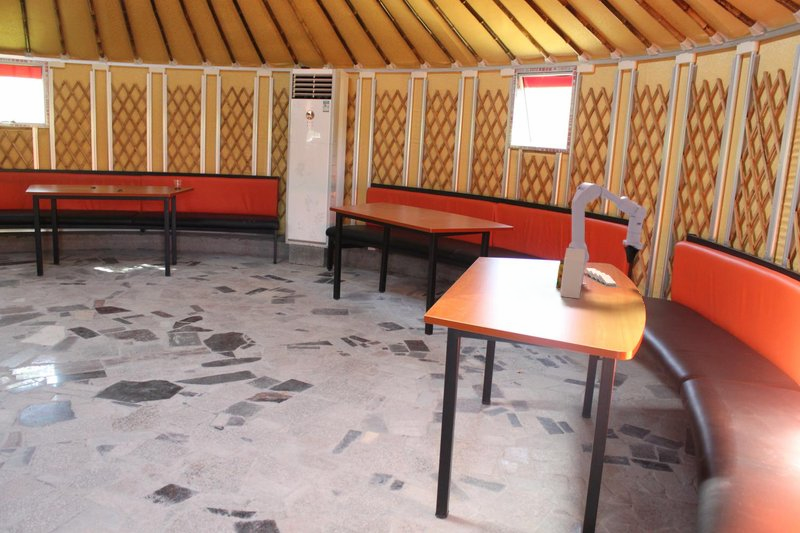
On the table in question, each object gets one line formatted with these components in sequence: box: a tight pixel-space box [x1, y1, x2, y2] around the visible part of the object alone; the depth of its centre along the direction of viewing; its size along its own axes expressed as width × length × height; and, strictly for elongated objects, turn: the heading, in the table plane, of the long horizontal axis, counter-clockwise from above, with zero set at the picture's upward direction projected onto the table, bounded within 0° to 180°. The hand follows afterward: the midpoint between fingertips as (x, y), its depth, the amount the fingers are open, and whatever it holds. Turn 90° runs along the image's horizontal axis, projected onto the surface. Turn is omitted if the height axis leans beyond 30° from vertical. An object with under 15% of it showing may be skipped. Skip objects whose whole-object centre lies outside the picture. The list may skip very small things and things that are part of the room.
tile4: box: [585, 267, 598, 278], centre depth 298 cm, size 1×4×8 cm
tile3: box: [590, 269, 602, 281], centre depth 293 cm, size 1×4×8 cm
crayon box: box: [555, 259, 564, 289], centre depth 268 cm, size 7×3×12 cm, turn 73°
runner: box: [586, 276, 620, 288], centre depth 289 cm, size 23×6×1 cm, turn 7°
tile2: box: [594, 271, 607, 283], centre depth 289 cm, size 1×4×8 cm
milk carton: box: [559, 247, 585, 299], centre depth 253 cm, size 7×7×19 cm
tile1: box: [599, 274, 617, 286], centre depth 284 cm, size 1×4×8 cm
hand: (629, 262), depth 284 cm, fingers closed
